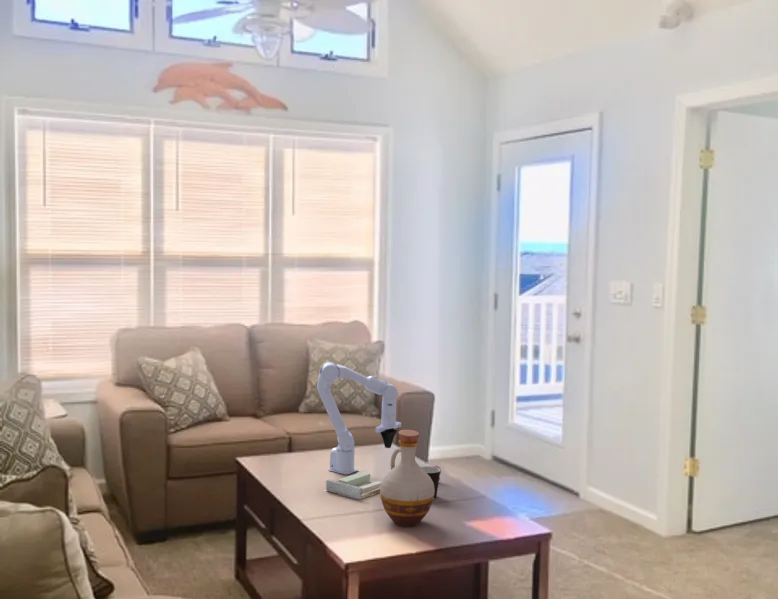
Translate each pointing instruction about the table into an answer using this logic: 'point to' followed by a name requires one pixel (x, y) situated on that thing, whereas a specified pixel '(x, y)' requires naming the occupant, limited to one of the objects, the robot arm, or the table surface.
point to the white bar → (370, 487)
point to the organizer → (348, 489)
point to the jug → (407, 485)
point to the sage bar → (356, 479)
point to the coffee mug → (433, 476)
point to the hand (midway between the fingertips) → (387, 447)
